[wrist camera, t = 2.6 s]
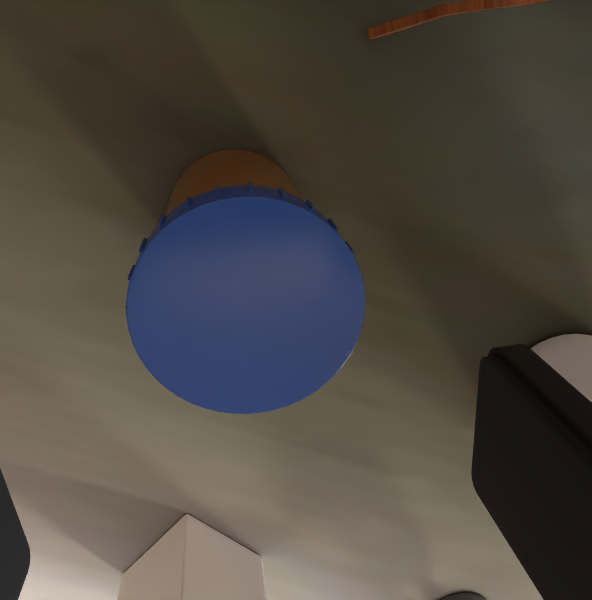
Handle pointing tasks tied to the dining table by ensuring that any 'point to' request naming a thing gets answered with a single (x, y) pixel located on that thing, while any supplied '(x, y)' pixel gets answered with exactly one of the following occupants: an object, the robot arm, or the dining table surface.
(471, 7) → the glasses
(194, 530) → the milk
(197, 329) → the lid
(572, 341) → the milk bottle
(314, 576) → the dining table surface
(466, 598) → the sundae
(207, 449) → the dining table surface
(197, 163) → the jar
